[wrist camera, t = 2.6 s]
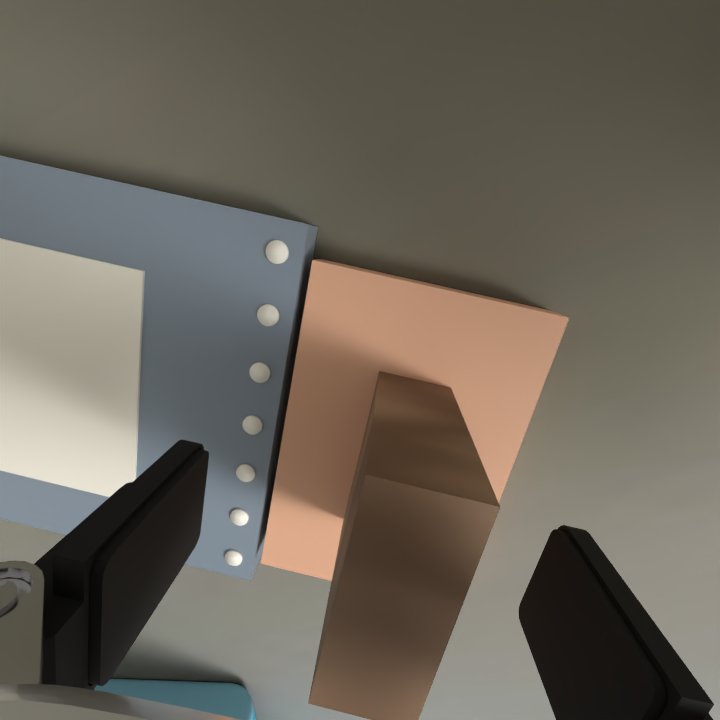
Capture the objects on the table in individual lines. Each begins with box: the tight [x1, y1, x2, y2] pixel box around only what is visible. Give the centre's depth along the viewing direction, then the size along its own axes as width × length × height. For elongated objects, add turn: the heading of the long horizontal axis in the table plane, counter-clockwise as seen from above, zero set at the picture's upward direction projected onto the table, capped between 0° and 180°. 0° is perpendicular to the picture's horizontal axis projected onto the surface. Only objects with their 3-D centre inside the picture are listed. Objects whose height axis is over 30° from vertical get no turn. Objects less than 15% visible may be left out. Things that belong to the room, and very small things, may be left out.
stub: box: [261, 259, 569, 720], centre depth 11 cm, size 8×12×8 cm, turn 168°
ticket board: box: [0, 156, 318, 581], centre depth 14 cm, size 16×14×2 cm
